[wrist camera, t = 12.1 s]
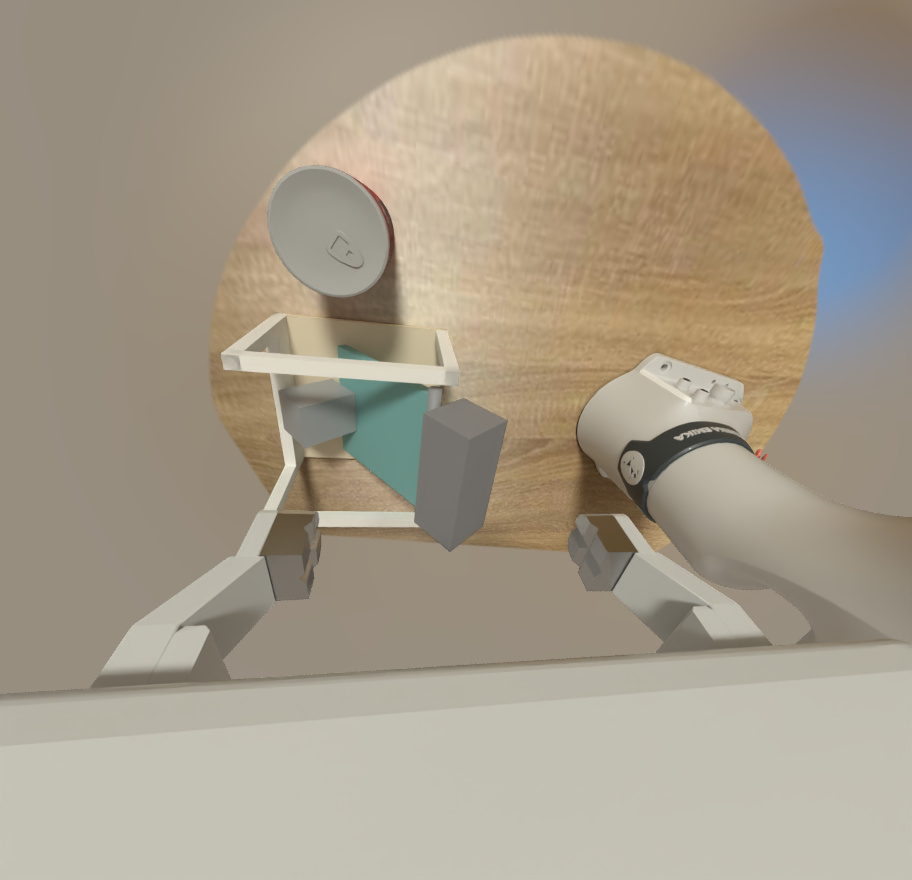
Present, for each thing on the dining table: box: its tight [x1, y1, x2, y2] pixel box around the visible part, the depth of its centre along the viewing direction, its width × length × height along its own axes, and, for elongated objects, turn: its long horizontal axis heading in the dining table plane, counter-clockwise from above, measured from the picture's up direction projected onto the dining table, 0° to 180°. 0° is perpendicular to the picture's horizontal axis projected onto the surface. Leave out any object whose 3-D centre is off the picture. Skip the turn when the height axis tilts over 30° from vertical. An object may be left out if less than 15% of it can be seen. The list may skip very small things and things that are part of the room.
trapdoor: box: [337, 345, 508, 552], centre depth 35 cm, size 20×14×5 cm
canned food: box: [267, 165, 394, 298], centre depth 28 cm, size 8×8×11 cm
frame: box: [221, 313, 460, 527], centre depth 36 cm, size 18×18×12 cm
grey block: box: [278, 379, 356, 448], centre depth 37 cm, size 5×5×6 cm
